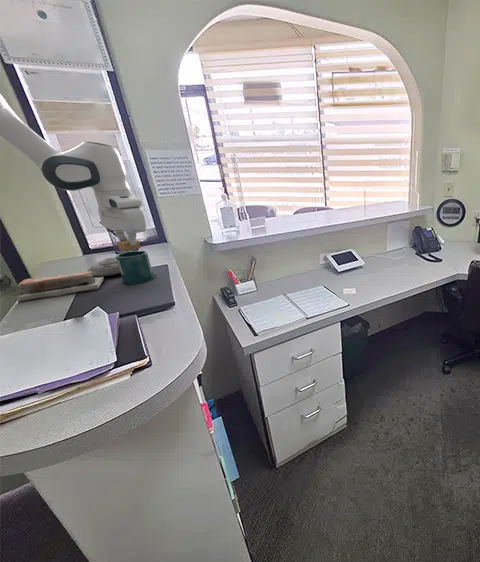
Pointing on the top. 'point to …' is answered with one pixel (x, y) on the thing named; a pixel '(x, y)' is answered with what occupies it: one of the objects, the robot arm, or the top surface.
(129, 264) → the tea cup
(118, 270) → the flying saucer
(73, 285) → the packaged product
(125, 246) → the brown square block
